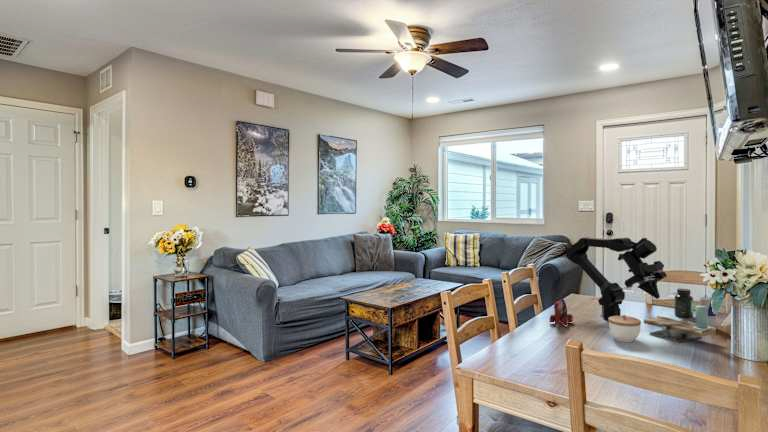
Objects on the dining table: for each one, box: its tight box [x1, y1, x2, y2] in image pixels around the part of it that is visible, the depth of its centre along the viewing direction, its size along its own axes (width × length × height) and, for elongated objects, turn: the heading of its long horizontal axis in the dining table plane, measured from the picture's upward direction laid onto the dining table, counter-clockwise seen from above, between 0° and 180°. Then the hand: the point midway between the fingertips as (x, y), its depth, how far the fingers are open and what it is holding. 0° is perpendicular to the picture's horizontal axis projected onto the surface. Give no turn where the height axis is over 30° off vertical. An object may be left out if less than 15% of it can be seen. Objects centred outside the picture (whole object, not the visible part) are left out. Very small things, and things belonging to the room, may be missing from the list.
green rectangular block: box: [692, 304, 712, 332], centre depth 155 cm, size 4×6×9 cm, turn 114°
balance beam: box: [643, 315, 717, 338], centre depth 163 cm, size 21×9×2 cm, turn 24°
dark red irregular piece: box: [549, 298, 574, 325], centre depth 184 cm, size 7×12×10 cm, turn 139°
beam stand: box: [649, 318, 702, 344], centre depth 164 cm, size 11×14×5 cm
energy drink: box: [698, 296, 717, 329], centre depth 172 cm, size 5×5×12 cm
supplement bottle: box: [674, 288, 694, 319], centre depth 189 cm, size 7×7×12 cm
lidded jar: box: [607, 314, 642, 343], centre depth 161 cm, size 11×11×9 cm
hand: (658, 298), depth 170 cm, fingers closed
